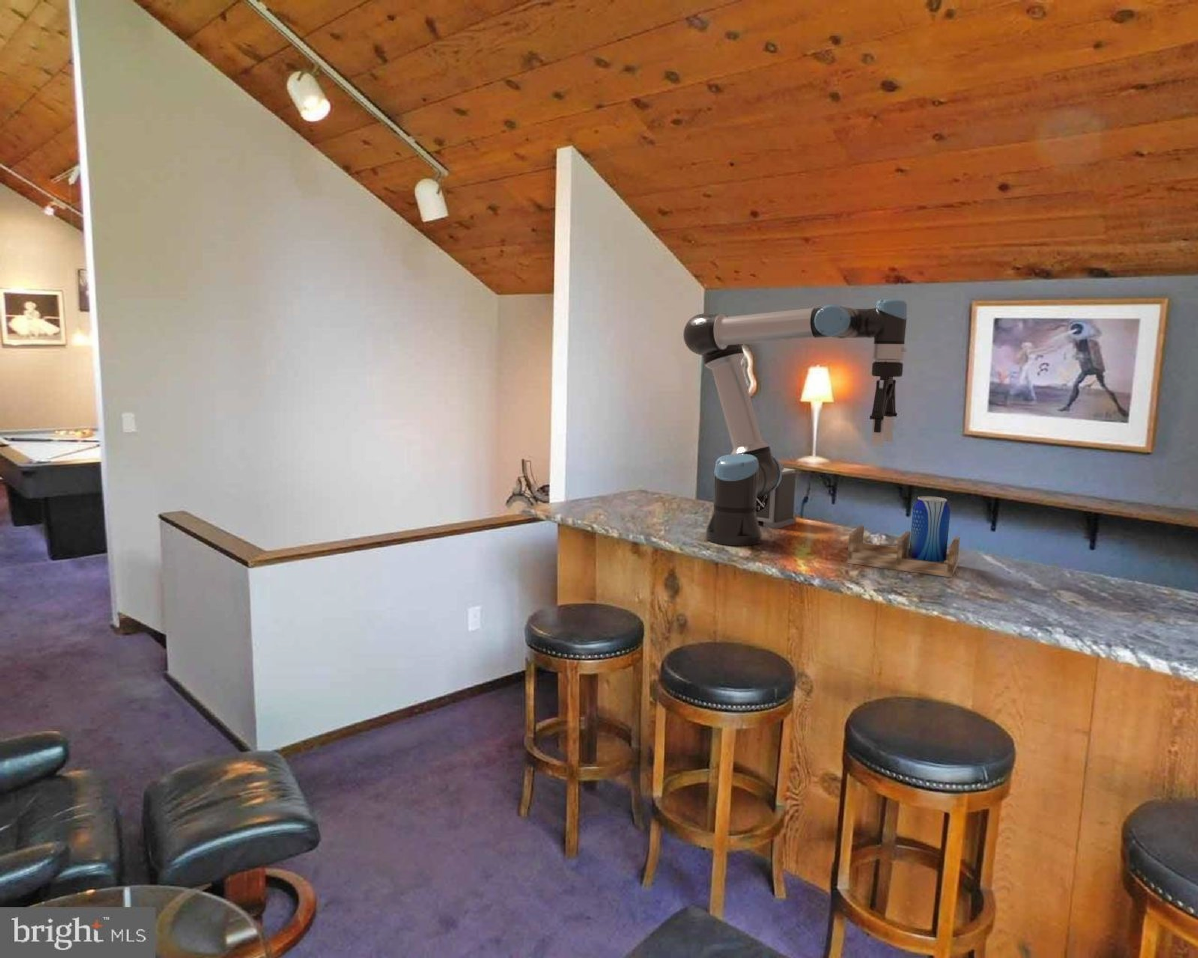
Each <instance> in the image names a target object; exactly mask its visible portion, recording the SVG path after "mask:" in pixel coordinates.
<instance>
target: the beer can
mask: <svg viewBox="0 0 1198 958" xmlns="http://www.w3.org/2000/svg"><path fill="white" fill-rule="evenodd" d="M916 500H917V501H916V502H915V503H914V504H913V506H912V516H911V519H912V520H911V527H910V528H911V529H910V532H911V533H910V546H909V548H910V551H909V557H910V558H911V559H912V560H918V561H926V562H933V563H941V564H943V562H944V561H945V560H946V554H947V553H948V542H949V541H948V540H949V530H950V518H951V508H950V506H949V503H948V499H946V498H944V497H940V496H939V497H938V496H929V495H927V496H924V495H922V496H918V497H917V499H916Z"/></svg>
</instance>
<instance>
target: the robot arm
mask: <svg viewBox="0 0 1198 958" xmlns="http://www.w3.org/2000/svg"><path fill="white" fill-rule="evenodd" d="M875 304H876V305H875V307H872V308H853V307H852V308H851V307H848V306H847V307H845V306H842V305H838V304H829V305H824V306H821V307H812V308H810V307H809V308H803V309H793V310H790V309H789V310H783V311H782V310H781V311H771V312H763V313H753V314H745V315H733V316H728V315H725V314H723V313H715V314H713V313H700V314H695V315H694V316H692V317H691V318H690V319H689V320H688V321H687V322H686V324H685V326H684V327H683V341H684V344H685V346H686V347H687V348H688V349H689V351H691V352H692V353H694V354H696V355H698V356H699V355H701V357H702V359H703V363H704V366H705V367H706V368H707V369H710V370H711V373H712V375H713V379H714V383H715V387H716V390H717V394H718V397H719V401H720V405H721V409H722V413H723V415H724V420H725V423H726V427H727V431H728V434H729V437H730V438H729V439H730V442H731V445H732V452H731V453H730V454H726V455H722V456H719V457H718V458H716V461H715V466H714V467H715V468H714V471H713V473H714V474H713V475H714V484H713V487H714V488H713V508H712V509H713V510H712V511H713V512H712V514H711V517H710V519H709V522H708V525H707V528H706V530H705V531H706V532H705V539H706V540H707V541H708V542H712V543H714V544H718V545H725V546H751V545H756V544H757V545H758V544H759V543H761V541H762V532H761V527H760V525H759V521H758V520H757V516H756V498H757V497H759V496H763V495H767V494H769V493H770V492H772V491H773V490H775V489H776V488H777V486H778V485H779V483H780V481H781V478H782V468H781V466H782V465H781V463H780V462H779V460H778V459H777V458H776V457H774V456H773V455H772V451H771V447H770V445H769V444H767V443H766V442H764V440H763V438H762V434H761V432H760V428H759V424H758V421H757V416H756V414H755V410H754V406H753V403H752V399H751V398H752V397H751V396H750V391H749V387H748V384H747V380H746V376H745V373H744V369H743V366H742V360H743V358H744V356H745V352H744V349H743V346H744V345H745V344H746V345H747V344H755V343H756V344H759V343H768V342H780V341H781V342H783V341H791V340H792V341H793V340H804V339H816V338H829V337H831V338H835V339H837V338H838V339H848V338H849V339H854V338H855V339H857V338H858V339H859V338H860V339H861V338H863V339H864V338H865V339H866V338H867V339H870V338H871V339H873V345H872V346H873V348H872V357H871V358H872V360H874V361H873V363H871V376H873V377H879V379H876V383H875V391H874V397H873V398H874V399H873V405H872V411H871V415H869V420H872V426H871V427H872V428H871V429H872V430H871V441H870V444H871V445H870V446H880V447H882V446H884V442H893V433H894V432H893V431H894V419H895V418H896V417H898V412H897V411H896V383H897V381H896V379H894V378H900V377H902V376H903V371H904V370H903V368H904V363H903V362H901V361H903V360H904V353H906V352H907V348H905V339H906V330H907V329H906V328H907V321H908V318H907V317H908V316H907V315H908V313H907V311H908V307H907V306H908V304H907V302H906V301H905V300H902V299H879V300H877V301H876V303H875ZM894 417H895V418H894Z"/></svg>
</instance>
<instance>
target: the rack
mask: <svg viewBox="0 0 1198 958" xmlns="http://www.w3.org/2000/svg"><path fill="white" fill-rule="evenodd" d="M864 531H865V526H864V525H859V526H858V527H857V528H855V529H854V530H853V531H852V532H851V533H850V534H848V545H847V546H848V548H847V560H846V561H847V562H846V564H852V565H858V566H860V565H861V566H865V567H866V566H867V567H874V568H881V569H889V570H896V571H901V572H903V571H904V572H911V573H917V574H926V575H932V576H941V577H947V578H952V577H953V575H954V573H955V571H956V570H957V567H958V561H959V549H960V540H961V537H960V536H955V537H954V538H953V540H952V541H951V544H950V545H949V547H948V548H949V549H948V550H949V551H948V552H947V554H946V560H945V561H944V562H943V564H941V563H933V562H926V561H918V560H912V559H911V558H910V557H909V551H910V539H911V530H910V531H908V530H906V531H905V532H904V533H903V534H902V535H901V536H900V537H899V539H898V540H897V546H893V545H885V544H877V543H868V542H864V534H865V533H864Z"/></svg>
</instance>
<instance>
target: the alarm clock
mask: <svg viewBox="0 0 1198 958" xmlns="http://www.w3.org/2000/svg"><path fill="white" fill-rule="evenodd" d="M781 468H782V478H781V481H780V483H779V485H778V486H777V488H776V489H775V490H773V491H772V492H770V493H769V494H767V495H763V496H759V497H757V498H756V516H757V520H758V522H759V521H760V522H763V524H762V526H763V527H764V528H770V529H779V528H783V527H786V526H790V525H793V524H796V521H797V518H796V516H794V510H795V509H794V508H795V507H794V506H795V492H796V469H795V468H785V467H784V466H782V465H781Z"/></svg>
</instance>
